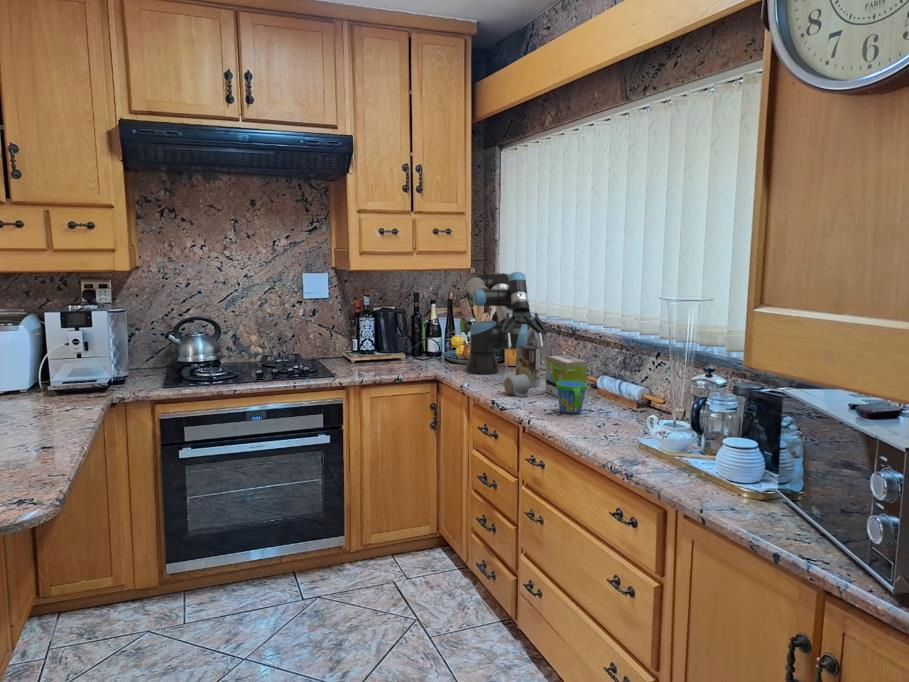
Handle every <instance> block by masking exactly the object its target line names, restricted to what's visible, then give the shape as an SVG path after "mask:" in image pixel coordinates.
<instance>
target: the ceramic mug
mask: <svg viewBox="0 0 909 682" xmlns="http://www.w3.org/2000/svg"><path fill="white" fill-rule="evenodd" d="M503 388H504V391H505V392H506V394H508V395H509V394H510V395H511V396H516V397H519V398H527V397H528V396H529V394H530V389H531V388H530V382H529V379H528V377H527V376H526V375H525V374H521V375H516V374H515V375H511V376H508V377H506V378H505V379H504V382H503Z"/></svg>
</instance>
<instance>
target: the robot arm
mask: <svg viewBox="0 0 909 682" xmlns="http://www.w3.org/2000/svg"><path fill="white" fill-rule="evenodd" d="M464 288H465V291H466V293H467V294H468V295H470V296H472V302H473V303H472V304H473V305H474V306H475V307H495V311H496V315H497V320H498V323H497V322H496V321H495V320H484V321H477V322H474V323H472V324H471V326H470V332H469V335H470V336H469V338H470V339H469V340H470V341H469V342H470V343H469V345H470V346H469V357H468V359H467V363H466V366H465V371H468V372H471V373H470V374H473V373H480V374H479V375H494V374H493V373H495V374H498V373H499V364H498V360H497V357H496V350H516V348H517V347H520V346H526V345H527V341H528V332H529V331H528V326H529V327H531V328H532V329H533V330H534V331H535V332H536V333H537V334H538V335H537V338H538V345H539V346H538V347H541V350H542V349H543V347H544V344H543V342H544V341H545V335H546V334H547V333H548V329H547V327H546V325H545V324H544V323H543V322H542V320H541V319H540V317H539V315H538V312H535V313H531V310H530V305H529V297H528V296H529V294H528V287H527V280H526V275H525V274H524V273H523V272H522V271H514V272H512V273H503V272H502V273H487V272H485V273H484V272H482V273H476V274H473V275H471V276H470V277H469V278H468V279H466V282H465V285H464ZM533 320H534V321H533ZM468 372H467V373H468Z"/></svg>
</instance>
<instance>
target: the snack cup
mask: <svg viewBox="0 0 909 682" xmlns="http://www.w3.org/2000/svg"><path fill="white" fill-rule="evenodd" d="M556 387H557V390H558V397H557V399H558V406H559V407H558V408H559V411H560V412H562V413H563V414H569V415H575V413H577V414H580V413H582V409H583V405H584V399H585V398H584V395H585V396H586V394H585V391H586V390H587V389H588V385H587V382H586V383H583V382H579V381H559V382H557V383H556ZM586 392H587V391H586Z"/></svg>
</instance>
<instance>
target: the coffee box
mask: <svg viewBox="0 0 909 682" xmlns="http://www.w3.org/2000/svg"><path fill="white" fill-rule="evenodd" d="M515 351H516V352H515V353H516V354H515V356H516V357H515V376H516V375H521V374H525V375H526V376H527V377H528V379H529V382H530V387H531V388H538V387H539V386H541V366H542V365H541V363H542V359H541V358H542V349H541V347H540V346H520V347H517V348H516V349H515Z"/></svg>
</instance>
